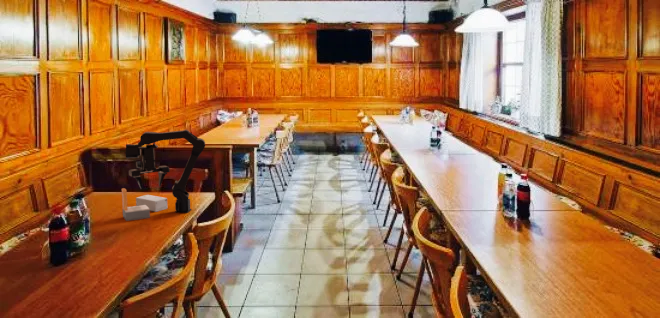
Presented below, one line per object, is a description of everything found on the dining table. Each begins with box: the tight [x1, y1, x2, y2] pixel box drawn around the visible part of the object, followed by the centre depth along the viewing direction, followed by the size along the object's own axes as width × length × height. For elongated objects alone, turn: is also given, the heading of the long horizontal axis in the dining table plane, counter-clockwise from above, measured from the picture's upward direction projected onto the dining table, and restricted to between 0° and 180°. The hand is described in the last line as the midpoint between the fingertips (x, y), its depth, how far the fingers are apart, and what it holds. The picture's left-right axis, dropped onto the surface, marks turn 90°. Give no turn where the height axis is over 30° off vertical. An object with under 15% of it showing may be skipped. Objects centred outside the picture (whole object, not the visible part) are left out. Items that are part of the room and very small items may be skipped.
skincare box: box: [135, 194, 168, 212], centre depth 260 cm, size 8×6×15 cm
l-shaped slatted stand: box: [121, 187, 149, 213], centre depth 242 cm, size 11×8×11 cm
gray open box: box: [122, 209, 151, 222], centre depth 244 cm, size 11×8×4 cm
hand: (150, 187), depth 250 cm, fingers open, 9 cm apart
